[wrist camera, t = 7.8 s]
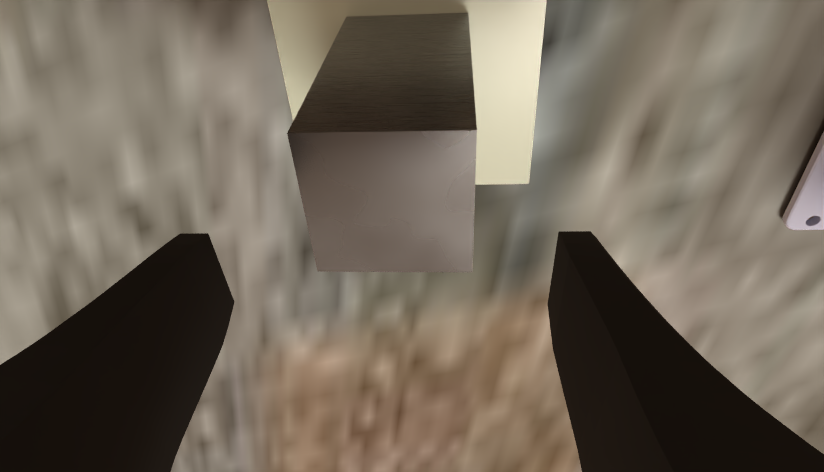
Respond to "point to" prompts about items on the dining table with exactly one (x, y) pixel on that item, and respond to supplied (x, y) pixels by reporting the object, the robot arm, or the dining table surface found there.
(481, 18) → the pad
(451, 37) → the square peg
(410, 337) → the dining table surface
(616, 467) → the robot arm
